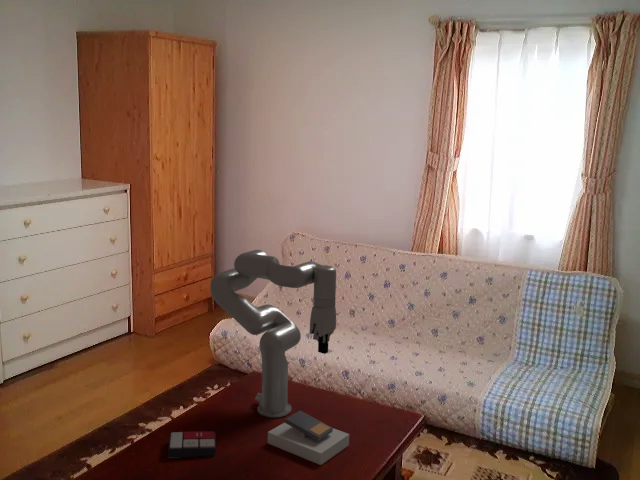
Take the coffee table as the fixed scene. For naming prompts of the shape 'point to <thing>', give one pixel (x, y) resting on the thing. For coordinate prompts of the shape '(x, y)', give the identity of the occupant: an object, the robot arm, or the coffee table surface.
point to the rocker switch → (309, 425)
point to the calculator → (192, 444)
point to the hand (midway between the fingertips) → (323, 352)
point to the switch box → (308, 443)
